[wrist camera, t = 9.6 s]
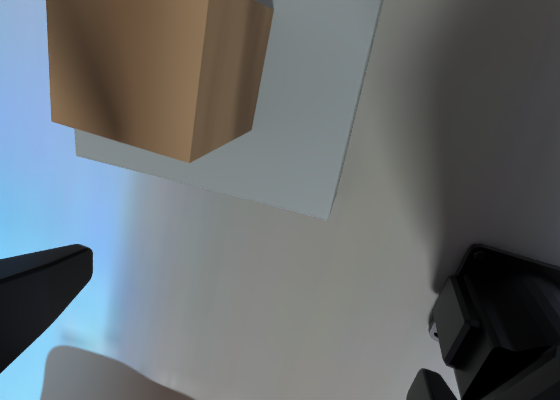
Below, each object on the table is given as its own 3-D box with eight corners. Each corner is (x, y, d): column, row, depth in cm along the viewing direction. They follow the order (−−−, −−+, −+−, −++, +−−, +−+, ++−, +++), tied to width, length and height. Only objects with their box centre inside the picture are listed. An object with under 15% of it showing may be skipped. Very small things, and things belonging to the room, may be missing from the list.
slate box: (396, -53, 16) (401, -86, 12) (336, 193, 21) (328, 220, 17) (120, -86, 18) (57, -122, 15) (123, 141, 23) (76, 155, 19)
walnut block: (274, 10, 14) (211, -22, 9) (251, 130, 16) (189, 163, 11) (163, -15, 15) (43, -58, 10) (154, 102, 17) (51, 121, 12)
